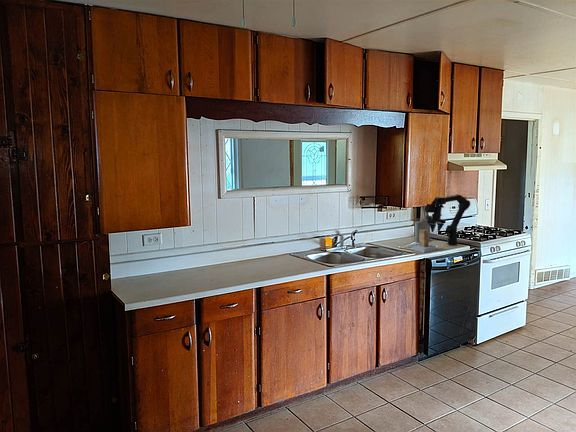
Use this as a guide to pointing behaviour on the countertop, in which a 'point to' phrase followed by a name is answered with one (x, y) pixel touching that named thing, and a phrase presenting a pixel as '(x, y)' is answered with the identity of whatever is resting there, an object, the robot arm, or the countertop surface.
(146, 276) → the countertop surface
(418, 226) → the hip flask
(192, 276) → the countertop surface
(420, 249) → the plinth
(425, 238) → the walnut block
